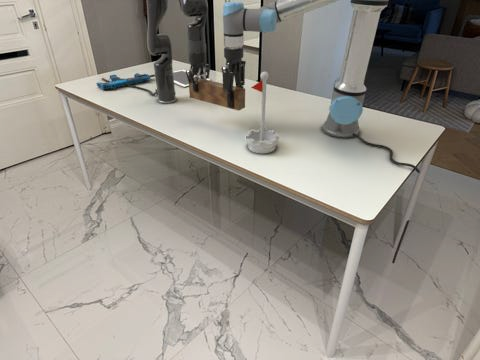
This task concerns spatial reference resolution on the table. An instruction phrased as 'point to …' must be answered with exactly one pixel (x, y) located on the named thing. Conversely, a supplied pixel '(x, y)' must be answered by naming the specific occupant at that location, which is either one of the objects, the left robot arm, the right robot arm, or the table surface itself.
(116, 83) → the submachine gun
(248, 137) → the flag stand
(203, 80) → the bar
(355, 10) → the right robot arm
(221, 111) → the table surface
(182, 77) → the tablet
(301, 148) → the table surface
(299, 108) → the table surface
